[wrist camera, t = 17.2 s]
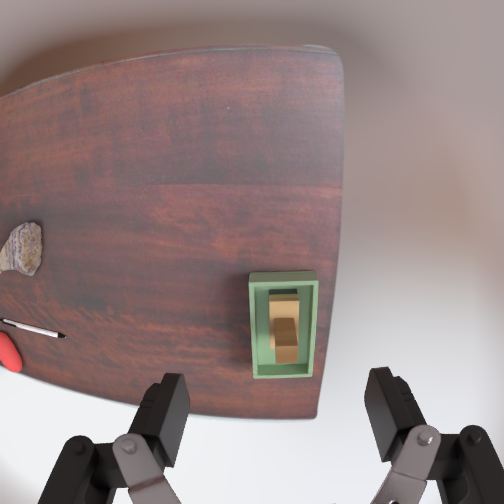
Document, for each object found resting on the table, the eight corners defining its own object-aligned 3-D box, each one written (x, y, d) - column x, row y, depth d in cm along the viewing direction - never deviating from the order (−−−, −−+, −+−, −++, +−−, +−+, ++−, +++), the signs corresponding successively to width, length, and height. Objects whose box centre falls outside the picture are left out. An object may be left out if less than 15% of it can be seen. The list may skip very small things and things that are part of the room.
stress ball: (21, 333, 48) (-3, 335, 42) (28, 374, 47) (4, 378, 41) (14, 329, 50) (-10, 331, 44) (19, 368, 49) (-3, 372, 44)
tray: (249, 272, 40) (248, 282, 37) (314, 270, 39) (318, 280, 36) (254, 364, 45) (253, 378, 41) (309, 362, 44) (311, 376, 41)
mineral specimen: (26, 286, 43) (5, 301, 37) (5, 254, 41) (-17, 266, 35) (59, 245, 40) (35, 258, 34) (35, 209, 38) (10, 218, 32)
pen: (1, 316, 46) (-2, 319, 44) (66, 333, 45) (63, 336, 44) (2, 320, 46) (-1, 323, 45) (67, 337, 45) (64, 341, 44)
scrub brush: (268, 289, 40) (269, 328, 31) (296, 288, 39) (305, 327, 30) (269, 334, 42) (270, 379, 33) (295, 333, 42) (301, 378, 33)
